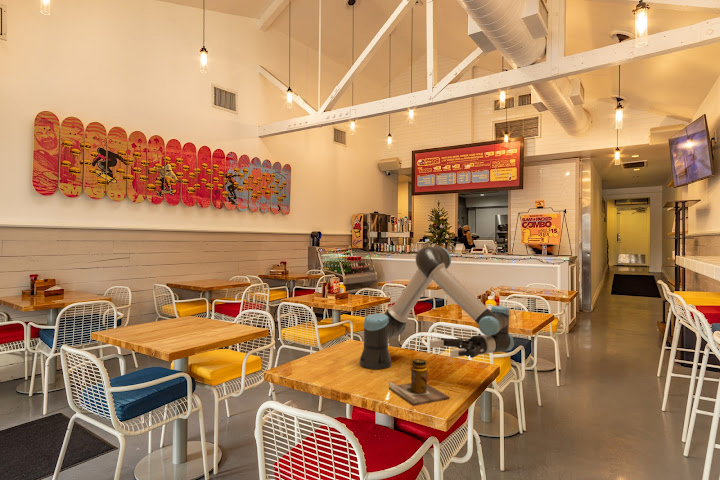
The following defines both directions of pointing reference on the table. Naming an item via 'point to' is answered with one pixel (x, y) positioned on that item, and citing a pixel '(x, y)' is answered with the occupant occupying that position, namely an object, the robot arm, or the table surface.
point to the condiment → (418, 378)
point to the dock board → (418, 399)
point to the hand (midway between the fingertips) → (440, 349)
